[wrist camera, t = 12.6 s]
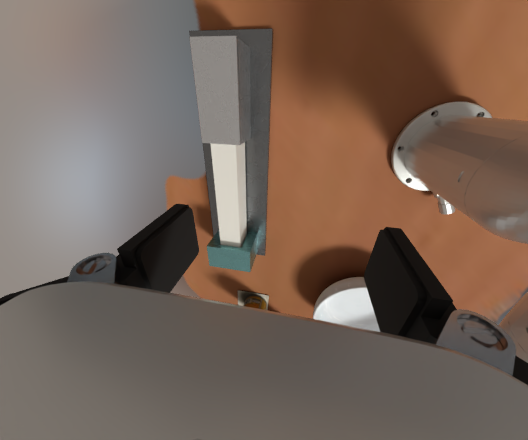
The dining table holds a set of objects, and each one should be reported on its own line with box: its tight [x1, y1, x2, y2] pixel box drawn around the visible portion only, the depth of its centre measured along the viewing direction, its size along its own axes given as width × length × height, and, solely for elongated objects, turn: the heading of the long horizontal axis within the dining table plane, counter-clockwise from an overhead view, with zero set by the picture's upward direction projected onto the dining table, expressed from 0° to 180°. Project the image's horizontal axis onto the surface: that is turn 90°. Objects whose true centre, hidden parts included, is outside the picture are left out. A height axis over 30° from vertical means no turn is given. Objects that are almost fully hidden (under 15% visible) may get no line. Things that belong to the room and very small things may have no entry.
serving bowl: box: [313, 277, 380, 332], centre depth 46 cm, size 21×21×7 cm
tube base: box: [189, 29, 273, 272], centre depth 36 cm, size 39×12×7 cm, turn 179°
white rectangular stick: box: [210, 142, 247, 248], centre depth 38 cm, size 24×4×5 cm, turn 179°
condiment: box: [238, 290, 269, 310], centre depth 52 cm, size 7×8×12 cm
